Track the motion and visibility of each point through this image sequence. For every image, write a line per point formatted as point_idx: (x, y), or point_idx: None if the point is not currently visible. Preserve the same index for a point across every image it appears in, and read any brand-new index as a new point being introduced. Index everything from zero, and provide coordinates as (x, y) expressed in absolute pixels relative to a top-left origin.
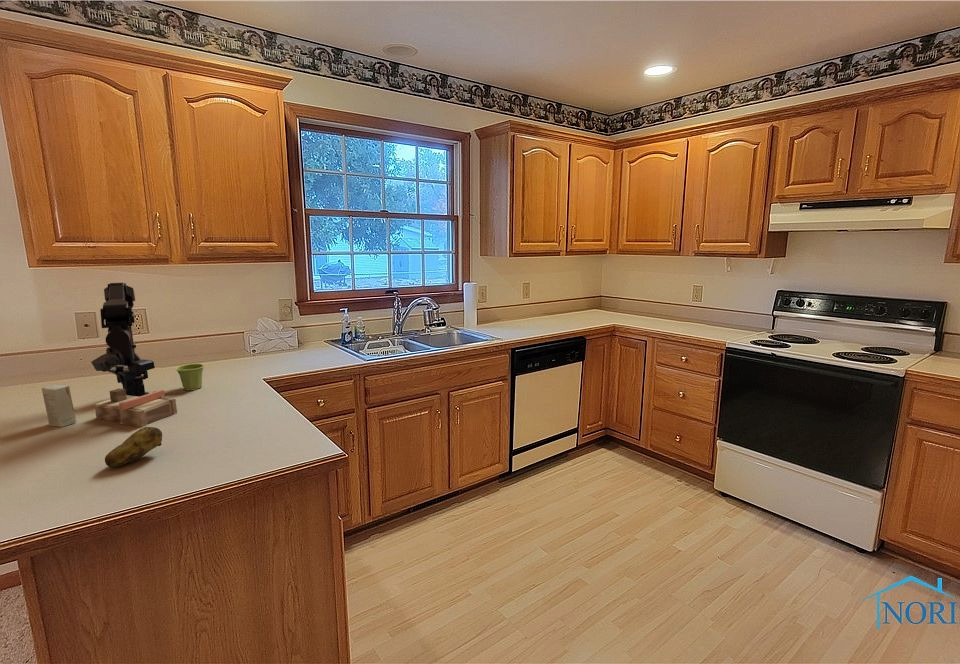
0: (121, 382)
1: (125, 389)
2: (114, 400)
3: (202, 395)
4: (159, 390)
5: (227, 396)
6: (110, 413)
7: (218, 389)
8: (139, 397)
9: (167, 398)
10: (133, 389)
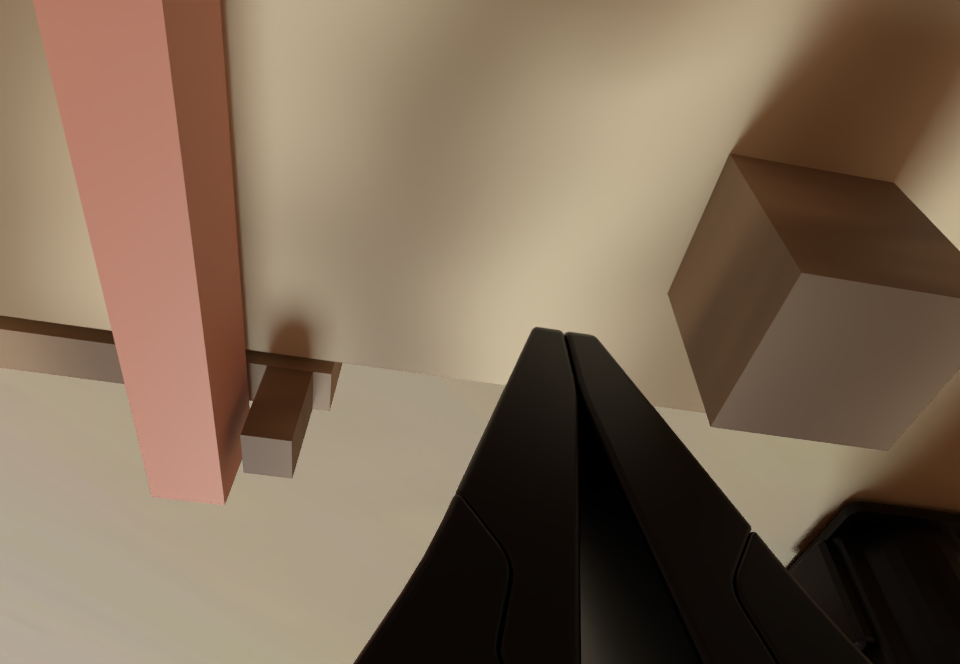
0: (686, 479)
1: (585, 339)
2: (817, 178)
3: (304, 579)
4: (204, 481)
5: (84, 574)
6: None
7: (302, 653)
8: (132, 145)
9: (69, 361)
10: (889, 599)
